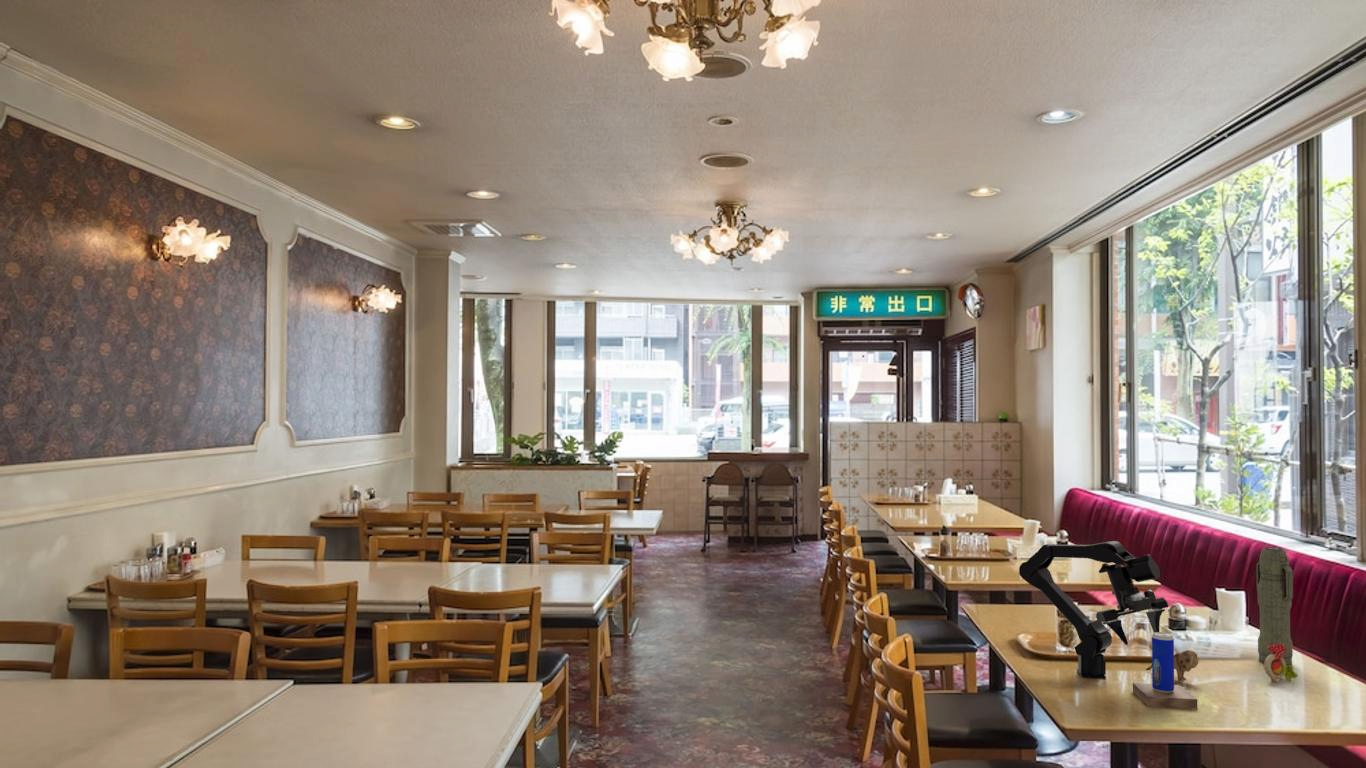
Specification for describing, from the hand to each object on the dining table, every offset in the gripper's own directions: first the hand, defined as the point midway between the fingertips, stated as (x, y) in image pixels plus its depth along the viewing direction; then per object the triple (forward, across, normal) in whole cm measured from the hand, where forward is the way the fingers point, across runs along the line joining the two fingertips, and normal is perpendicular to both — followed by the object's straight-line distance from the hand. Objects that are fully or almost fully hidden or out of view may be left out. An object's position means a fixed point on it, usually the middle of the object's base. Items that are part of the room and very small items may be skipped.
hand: (1142, 640), depth 252 cm
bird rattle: (+20, +39, +10) cm, 45 cm away
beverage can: (+13, -3, -8) cm, 15 cm away
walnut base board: (+15, -4, -8) cm, 17 cm away
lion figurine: (+13, +11, +12) cm, 21 cm away
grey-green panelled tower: (+18, +50, +28) cm, 60 cm away
